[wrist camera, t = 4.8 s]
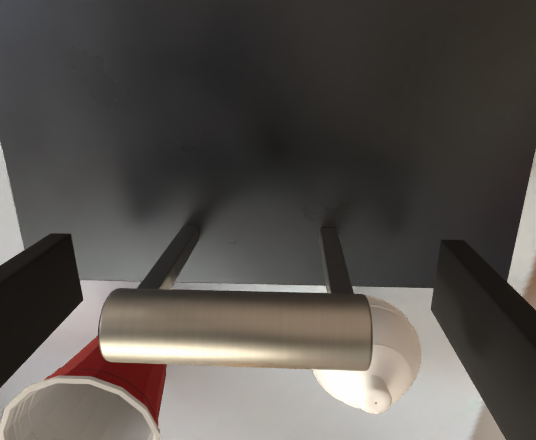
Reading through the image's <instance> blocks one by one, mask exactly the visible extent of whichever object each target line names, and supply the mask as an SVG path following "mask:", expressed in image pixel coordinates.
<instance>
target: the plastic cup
mask: <svg viewBox="0 0 536 440" xmlns="http://www.w3.org/2000/svg"><path fill="white" fill-rule="evenodd" d="M166 366H167V364H149V363H122V362H109V361H107V360H105V359H104V358H103V356H102V354H101V352H100V348H99V342H98V336H97V337H96V338H95V339H94V340H93V341H91V342H90V343H89V344H88V345H87V346H86V347H85V348H83V349H82V350H81V351H80V352H79V353H78V354H77V355H76V356H74V357H73V358H72V359H71V360H70V361H69V362H68V363H66V364H65V365H64V366H63V367H62V368H59V369H58V370H57V371H56V372H55V373H53V374H52V375H51V376H48V377H47V378H46V379H45V380H44V381H41V382H38V383H35V384H32V385H30V386H28V387H27V388H25V389H24V390H23V391H22V392H21V393H20V394H19V395H18V396H17V397H16V398H15V399H14V400H12V401H11V402H10V403H9V404H8V405H7V406H6V407H5V410H4V413H3V416H2V419H1V422H0V440H160V430H159V428H158V417H159V411H160V405H161V400H162V394H163V388H164V383H165V377H166Z"/></svg>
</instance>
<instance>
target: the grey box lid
mask: <svg viewBox="0 0 536 440" xmlns="http://www.w3.org/2000/svg"><path fill="white" fill-rule="evenodd" d="M0 145H1V149H2V154H3V158H4V162H5V167H6V171H7V175H8V180H9V184H10V188H11V193H12V197H13V201H14V206H15V210H16V214H17V219H18V223H19V227H20V232H21V236H22V240H23V245H24V249H27V248H29V247H30V246H32V245H33V244H35V243H36V242H38V241H39V240H41V239H42V238H44V237H46V236H47V235H49V234H50V233H71V236H72V242H73V247H74V252H75V258H76V263H77V269H78V274H79V280H106V281H142V282H141V284H140V285H139V287H138V288H137V289H129V288H119V289H116V290H114V291H112V292H111V293H110V294H109V296H108V297H107V299H106V301H105V303H104V306H103V308H102V312H101V315H100V320H99V328H98V342H99V348H100V352H101V354H102V356H103V358H104V359H105V360H107V361H109V362H122V363H149V364H177V365H205V366H233V367H261V368H289V369H317V370H345V371H367V370H368V369H369V367H370V364H371V360H372V352H373V325H372V315H371V309H370V305H369V301H368V299H367V297H366V296H365V295H363V294H354V293H353V289H352V286H366V287H409V288H434V284H435V277H436V270H437V263H438V256H439V249H440V242H441V240H464V241H465V242H466V243H467V244H469V245H470V246H471V247H472V248H473V249H474V250H475V251H476V252H477V253H478V254H479V255H480V256H481V257H482V258H483V259H484V260H485V261H486V262H487V263H488V264H489V265H490V266H491V267H492V268H493V269H494V270H495V271H496V272H497V273H498V274H499V275H500V276H501V277H502V278H503V279H504V280H505V281H506V282H507V279H508V275H509V270H510V265H511V261H512V256H513V251H514V247H515V242H516V237H517V233H518V228H519V223H520V219H521V214H522V209H523V205H524V200H525V195H526V191H527V186H528V181H529V177H530V172H531V167H532V163H533V158H534V153H535V149H536V0H0ZM174 282H193V283H236V284H279V285H322V286H326V288H327V293H294V292H253V291H212V290H170V289H171V288H172V286H173V284H174Z"/></svg>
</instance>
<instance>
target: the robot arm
mask: <svg viewBox="0 0 536 440" xmlns="http://www.w3.org/2000/svg"><path fill="white" fill-rule="evenodd" d="M82 301H83V296H82V291H81V285H80V280H79V274H78V269H77V263H76V258H75V252H74V247H73V242H72V236H71V233H50V234H49V235H47V236H46V237H44V238H42V239H41V240H39V241H38V242H36V243H35V244H33V245H32V246H30V247H29V248H27V249H25V250H24V251H22V252H21V253H19V254H18V255H16V256H15V257H13V258H11V259H10V260H8V261H7V262H5V263H4V264H2V265H1V266H0V388H1V387H2V385H3V384H4V383H5V382H6V381H7V380H8V379H9V378H10V377H11V376H12V375H13V374H14V373H15V372H16V371H17V370H18V368H19V367H20V366H21V365H22V364H23V363H24V362H25V361H26V360H27V359H28V358H29V357H30V356H31V355H32V354H33V353H34V352H35V350H36V349H37V348H38V347H39V346H40V345H41V344H42V343H43V342H44V341H45V340H46V339H47V338H48V337H49V336H50V335H51V334H52V332H53V331H54V330H55V329H56V328H57V327H58V326H59V325H60V324H61V323H62V322H63V321H64V320H65V319H66V318H67V317H68V316H69V314H70V313H71V312H72V311H73V310H74V309H75V308H76V307H77V306H78V305H79V304H80V303H81V302H82ZM431 311H432V312H433V314H434V316H435V317H436V319H437V321H438V323H439V324H440V326H441V328H442V330H443V331H444V333H445V335H446V337H447V338H448V340H449V342H450V343H451V345H452V347H453V349H454V350H455V352H456V354H457V356H458V357H459V359H460V361H461V363H462V364H463V366H464V368H465V369H466V371H467V373H468V375H469V376H470V378H471V380H472V382H473V383H474V385H475V387H476V388H477V390H478V392H479V394H480V395H481V397H482V399H483V401H484V402H485V404H486V406H487V408H488V409H489V411H490V413H491V414H492V416H493V418H494V420H495V421H496V423H497V425H498V426H499V428H500V430H501V432H502V434H503V435H504V437H505V439H506V440H536V310H535V309H534V308H533V307H532V306H531V305H530V304H529V303H528V302H527V301H526V300H525V299H524V298H523V297H522V296H521V295H520V294H519V293H518V292H517V291H515V290H514V289H513V288H512V287H511V286H510V285H509V284H508V283H507V282H506V281H505V280H504V279H503V278H502V277H501V276H500V275H499V274H498V273H497V272H496V271H495V270H494V269H493V268H492V267H491V266H490V265H489V264H488V263H487V262H486V261H485V260H484V259H483V258H482V257H481V256H480V255H479V254H478V253H477V252H476V251H475V250H474V249H473V248H472V247H471V246H470V245H469V244H467V243H466V242H465V241H464V240H441V242H440V249H439V256H438V263H437V270H436V277H435V284H434V290H433V297H432V304H431Z"/></svg>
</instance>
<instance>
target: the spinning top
mask: <svg viewBox="0 0 536 440" xmlns="http://www.w3.org/2000/svg"><path fill="white" fill-rule="evenodd" d="M365 296H366V297H367V299H368V301H369V305H370V309H371V315H372V325H373V352H372V360H371V364H370V367H369V369H368V370H367V371H345V370H317V369H312V371H313V373H314V375H315V377H316V379H317V380H318V382H319V383H320V384H321V386H322V387H323V388H324V389H325V390H326V391H327V392H328V393H329V394H331V395H332V396H333V397H335V398H336V399H338V400H340V401H342V402H344V403H346V404H348V405H350V406H352V407H355V408H360V409H363V410H365V411H366V412H368V413H372V414H379V413H383V412H385V411H386V410H388V409H389V408H390V406H391V404H393V403H394V402H396V401H397V400H399V399H400V398H401V397H402V396H403V395H404V394H405V392H406V391H407V390H408V389H409V388H410V387H411V385H412V384H413V382H414V381H415V379H416V377H417V374H418V372H419V368H420V364H421V347H420V342H419V338H418V335H417V333H416V331H415V329H414V327H413V326H412V324H411V323H410V321H409V320H408V319H407V317H406V316H405V315H404V314H403V313H402V312H401V311H400V310H398V309H397V308H396V307H394V306H393V305H391V304H389V303H387V302H385V301H383V300H380V299H377V298H374V297H371V296H367V295H365Z"/></svg>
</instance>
